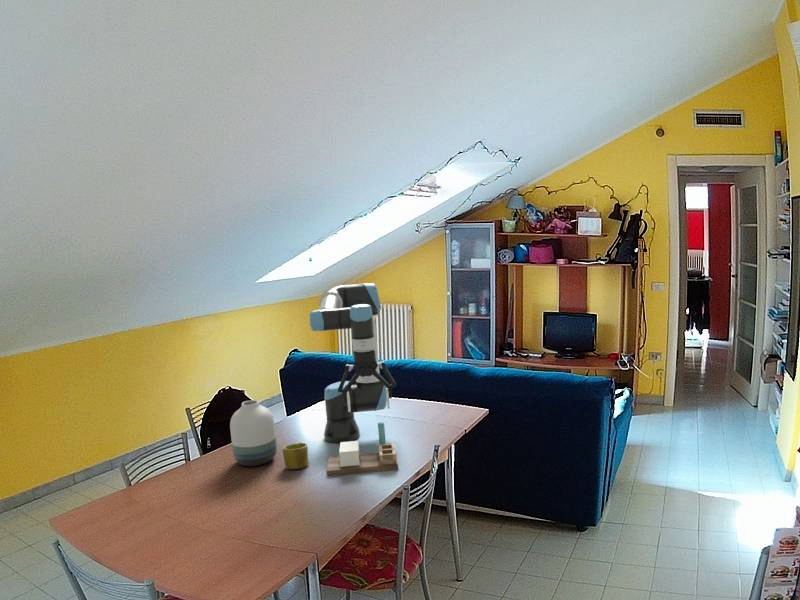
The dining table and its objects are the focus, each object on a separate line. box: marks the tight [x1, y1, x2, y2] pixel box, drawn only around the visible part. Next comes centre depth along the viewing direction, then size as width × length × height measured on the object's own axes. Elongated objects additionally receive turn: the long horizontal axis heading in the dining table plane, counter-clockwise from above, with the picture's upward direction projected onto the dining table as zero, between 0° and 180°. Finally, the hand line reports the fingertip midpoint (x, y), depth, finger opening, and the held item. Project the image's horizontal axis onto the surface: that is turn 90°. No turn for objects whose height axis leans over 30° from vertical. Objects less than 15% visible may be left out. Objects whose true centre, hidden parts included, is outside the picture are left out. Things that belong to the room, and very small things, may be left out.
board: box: [326, 442, 399, 477], centre depth 231 cm, size 13×26×6 cm, turn 93°
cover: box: [338, 440, 361, 467], centre depth 230 cm, size 10×7×6 cm
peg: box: [377, 421, 387, 445], centre depth 242 cm, size 2×2×12 cm
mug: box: [282, 441, 309, 471], centre depth 236 cm, size 12×10×10 cm
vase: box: [229, 399, 278, 467], centre depth 242 cm, size 17×17×24 cm
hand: (369, 409), depth 215 cm, fingers open, 13 cm apart
